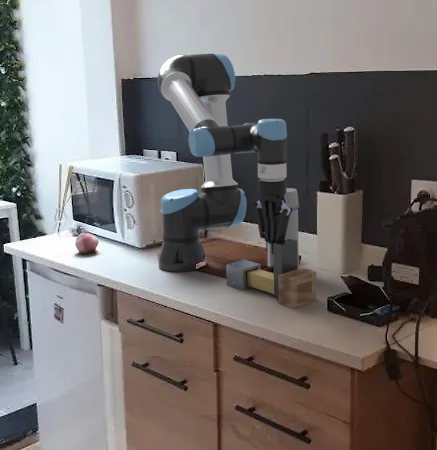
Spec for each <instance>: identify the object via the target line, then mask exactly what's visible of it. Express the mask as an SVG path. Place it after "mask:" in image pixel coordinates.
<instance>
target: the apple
mask: <svg viewBox="0 0 437 450" xmlns="http://www.w3.org/2000/svg"><path fill="white" fill-rule="evenodd" d="M74 245H75V247H76V249H77V250H78V252H79V253H80V254H82V255H87V254H91V253H97V247H98V245H99V239H98V238H97V236H95V235H94V234H92V233H88V232H87V233H86V232H82V233H80V234H78V236H77V237H76V239H75V244H74Z"/></svg>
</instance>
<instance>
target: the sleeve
mask: <svg viewBox="0 0 437 450" xmlns="http://www.w3.org/2000/svg"><path fill="white" fill-rule="evenodd" d="M225 267H226V269H225V272H226V274H225V275H226V285H227V286H230V287H233V288H237V289H239V290H242V291H245V290H248V289H251V288H252V287H250V286H247V285H246V272H245V271H247V270H251V269H254V268H257V269H260V270H262V266H261V263H257V262H254V261H250V260H246V259H240V260H237V261H233V262H229V263H227V264H225Z"/></svg>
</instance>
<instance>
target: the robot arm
mask: <svg viewBox="0 0 437 450" xmlns="http://www.w3.org/2000/svg"><path fill="white" fill-rule="evenodd" d="M232 63H233V62H231V60H230V58H229V56H227V55H225V54H223V53H201V54H200V53H198V54H179V55H175V56H173V57H171V58H170V59H167V60H166V62H164V63H163V65H162V66H161V68H160V69H159V72H158V75H157V86H158V90H159V92H160V94H161V95H162V97H163V98H164V99H165V100H167V101H169V102H170V103H171V105H172V106H173V108H174V109H175V111H176V112H177V114H178V115H179V118H180V119H181V120H182V122H183V124H184V125H185V127H186V129H187V130H188V132H189V134H188V148H189V151H190V153H191V155H193V156H194V157H196V158H197V157H202V158H203V159H202V160H203V171H204V172H203V173H204V179H205V180H204V182H203V184H202V185H201V186H200V189H201V192H199V191H198V189H196V188H195V189H194V188H186V189H184V188H183V189H179V190H174V191H170V192H168V193H166V194H164V195H163V196H162V197H161V199H160V214H161V215H160V216H161V229H162V230H161V231H162V234H161V235H162V244H161V248H160V251H159V257H158V267H159V269H160V270H163V271H166V272H175V273H177V272H180V273H182V272H191V271H197V270H196V264H198V263H200V262H203V261H205V260H206V259H207V255H206V253H205V249H204V247H203V244H202V241H201V231H208V230H214V229H224V228H227V229H229V228H231V227H235V226H236V227H237V226H238V225H240V224H241V223H243V221H244V219H245V217H246V213H247V197H246V196H245V194H246V193H245V191H244V190H243V189H241V188H240V187H239V183H238V182H237V181H235V180H234V179H233V170H232V160H231V155H236V154H248V153H255V154H256V153H257V178H258V180H257V193H258V194H259V197H258V200H257V201H255V202H253V203H252V207H253V210H254V211H255V216H256V221H257V227H258V232H259V236H260V238H261V239H264V241H265V251H266V253H267V267H274V260H273V243H275V242H279V241H283V240H285V236H286V231H287V226H288V221H289V216H290V214H291V213H292V211H293V209H292V208H291V207H290V208H288V206H287V205H286V201H285V198H284V195H285V193H286V188H287V179H286V178H287V175H288V174H287V146H288V145H287V139H288V138H287V137H288V132H287V122H286V121H285V120H284V119H281V118H262V119H259V120H258V122H246V123H244V124H240V125H239V124H238V125H228V116H227V105H226V104H227V103H226V102H227V100H228V99H229V98H230V92H232V91H233V90H234V89H235V85H236V84H235V82H236V73H235V69H234V65H233V64H232ZM207 260H208V259H207Z"/></svg>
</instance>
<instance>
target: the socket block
mask: <svg viewBox="0 0 437 450" xmlns="http://www.w3.org/2000/svg"><path fill="white" fill-rule="evenodd" d="M278 282H279V297H278V304H279V305H282V306H284V307H288V308H290V309H294V308H297V307H299V306H303V305H306V304H308V303H311V302H314V301H317V300H318V299H317V271H316V270H312V269H309V268H305V267H300V268H299V269H296V270H293V271H290V272H287V273H283V274H280V275H278Z"/></svg>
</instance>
